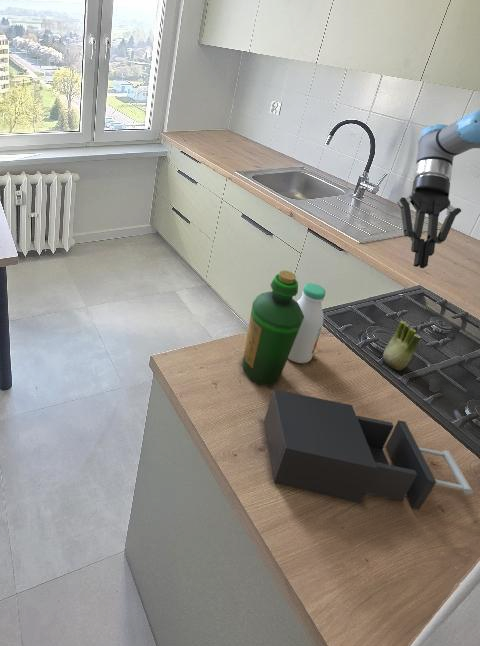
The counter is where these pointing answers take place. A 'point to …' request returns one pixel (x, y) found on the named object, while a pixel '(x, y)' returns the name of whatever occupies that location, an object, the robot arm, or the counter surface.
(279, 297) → the bottle
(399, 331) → the fennel bulb
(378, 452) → the drawer
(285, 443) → the cabinet
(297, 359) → the milk bottle
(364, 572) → the counter surface
